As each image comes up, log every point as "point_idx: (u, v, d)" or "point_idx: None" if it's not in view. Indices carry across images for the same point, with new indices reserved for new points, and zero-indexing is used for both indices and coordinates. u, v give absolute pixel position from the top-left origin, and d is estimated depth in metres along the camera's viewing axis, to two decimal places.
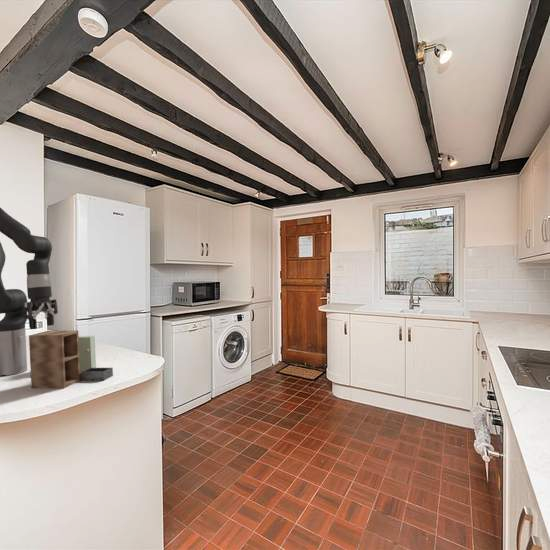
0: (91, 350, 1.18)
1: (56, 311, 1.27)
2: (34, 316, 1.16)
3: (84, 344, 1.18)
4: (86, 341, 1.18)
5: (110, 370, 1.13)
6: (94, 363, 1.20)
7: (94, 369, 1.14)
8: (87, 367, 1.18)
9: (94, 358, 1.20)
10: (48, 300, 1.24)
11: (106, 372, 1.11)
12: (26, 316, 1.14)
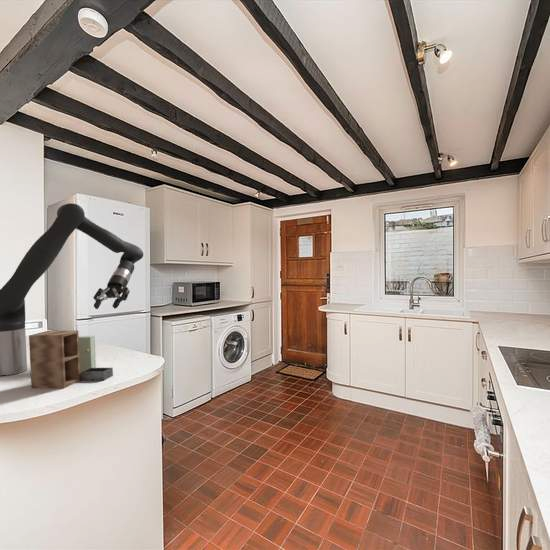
0: (91, 350, 1.18)
1: None
2: None
3: (84, 344, 1.18)
4: (86, 341, 1.18)
5: (110, 370, 1.13)
6: (94, 363, 1.20)
7: (94, 369, 1.14)
8: (87, 367, 1.18)
9: (94, 358, 1.20)
10: None
11: (106, 372, 1.11)
12: (124, 297, 1.34)
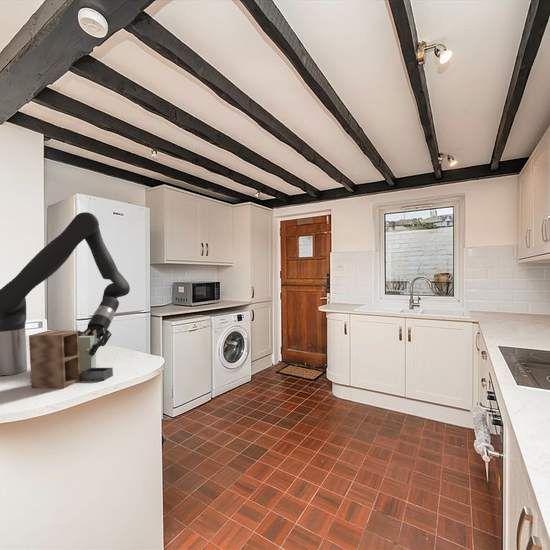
0: None
1: None
2: None
3: (84, 344, 1.18)
4: (86, 341, 1.18)
5: (110, 370, 1.13)
6: (94, 363, 1.20)
7: (94, 369, 1.14)
8: (87, 367, 1.18)
9: (94, 358, 1.20)
10: None
11: (106, 372, 1.11)
12: (103, 343, 1.20)
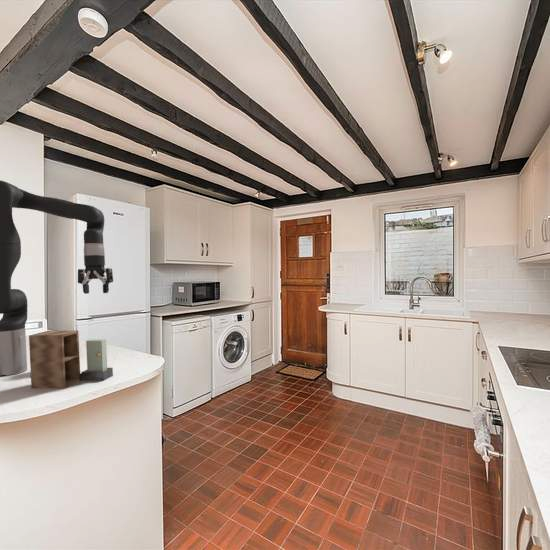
0: (102, 354, 1.11)
1: None
2: None
3: (95, 348, 1.11)
4: (97, 345, 1.11)
5: (110, 370, 1.13)
6: (105, 368, 1.13)
7: None
8: None
9: (105, 363, 1.13)
10: None
11: (106, 372, 1.11)
12: (111, 280, 1.28)
